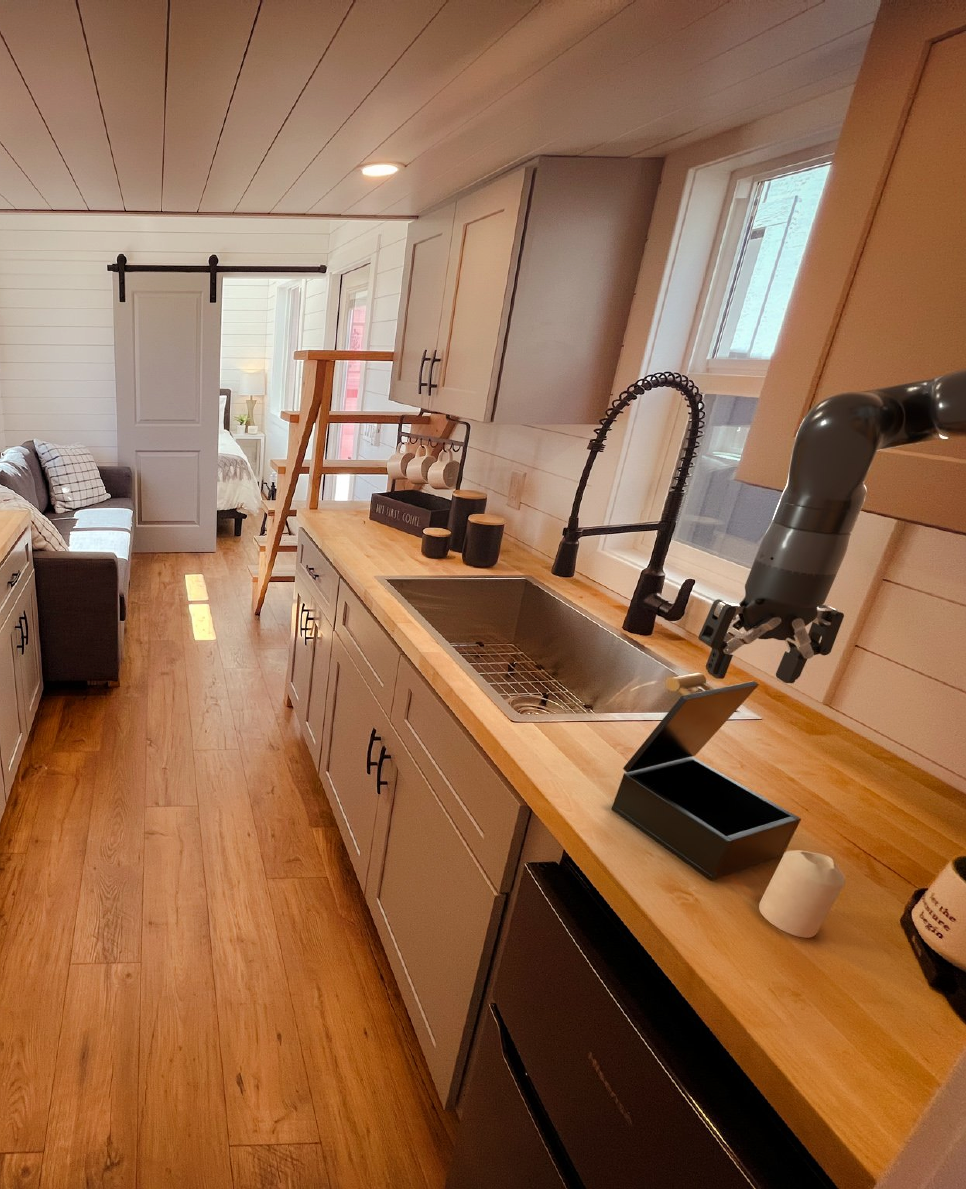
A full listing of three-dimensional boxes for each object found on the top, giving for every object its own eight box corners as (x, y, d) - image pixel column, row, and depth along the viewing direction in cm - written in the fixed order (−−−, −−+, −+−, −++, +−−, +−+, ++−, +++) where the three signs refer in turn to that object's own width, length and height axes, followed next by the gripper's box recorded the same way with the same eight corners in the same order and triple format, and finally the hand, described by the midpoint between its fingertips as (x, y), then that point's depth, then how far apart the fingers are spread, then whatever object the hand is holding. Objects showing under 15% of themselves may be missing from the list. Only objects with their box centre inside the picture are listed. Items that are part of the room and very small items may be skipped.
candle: (786, 900, 83) (817, 840, 79) (829, 937, 78) (864, 875, 74) (746, 902, 82) (776, 841, 79) (787, 939, 77) (820, 876, 74)
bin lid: (759, 684, 91) (723, 659, 95) (687, 699, 86) (652, 672, 90) (695, 755, 100) (665, 729, 104) (626, 772, 95) (598, 745, 99)
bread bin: (782, 857, 90) (801, 818, 87) (710, 881, 86) (728, 841, 83) (678, 791, 103) (692, 756, 100) (610, 809, 98) (623, 773, 96)
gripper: (757, 569, 75) (711, 689, 81) (888, 575, 74) (832, 696, 80) (713, 549, 82) (674, 661, 88) (832, 555, 81) (784, 668, 87)
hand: (749, 678), depth 84 cm, fingers open, 8 cm apart
